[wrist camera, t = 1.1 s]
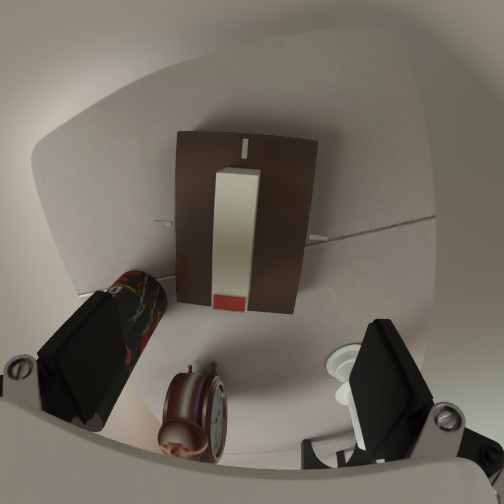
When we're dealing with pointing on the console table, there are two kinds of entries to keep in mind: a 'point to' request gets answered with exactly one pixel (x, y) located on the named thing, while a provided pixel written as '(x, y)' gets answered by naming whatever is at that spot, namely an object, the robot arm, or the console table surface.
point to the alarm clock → (195, 417)
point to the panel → (267, 221)
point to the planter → (357, 458)
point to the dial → (234, 237)
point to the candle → (346, 382)
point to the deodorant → (131, 332)
